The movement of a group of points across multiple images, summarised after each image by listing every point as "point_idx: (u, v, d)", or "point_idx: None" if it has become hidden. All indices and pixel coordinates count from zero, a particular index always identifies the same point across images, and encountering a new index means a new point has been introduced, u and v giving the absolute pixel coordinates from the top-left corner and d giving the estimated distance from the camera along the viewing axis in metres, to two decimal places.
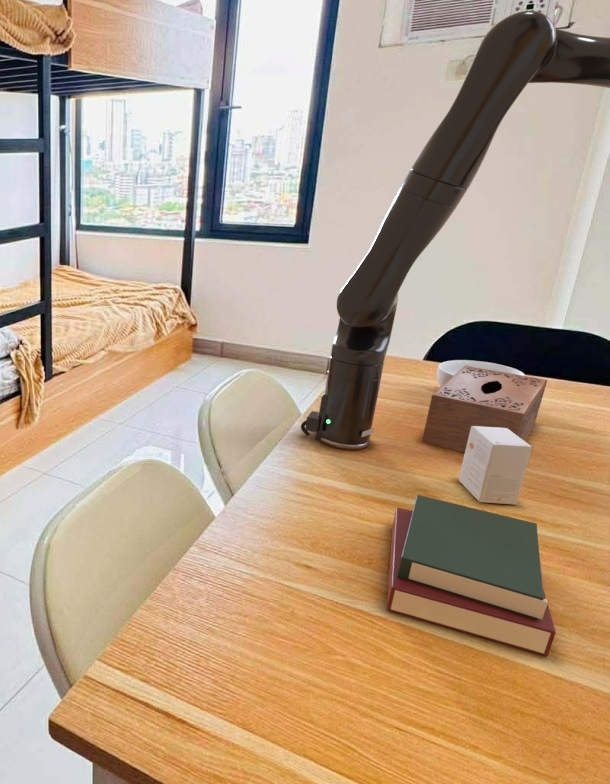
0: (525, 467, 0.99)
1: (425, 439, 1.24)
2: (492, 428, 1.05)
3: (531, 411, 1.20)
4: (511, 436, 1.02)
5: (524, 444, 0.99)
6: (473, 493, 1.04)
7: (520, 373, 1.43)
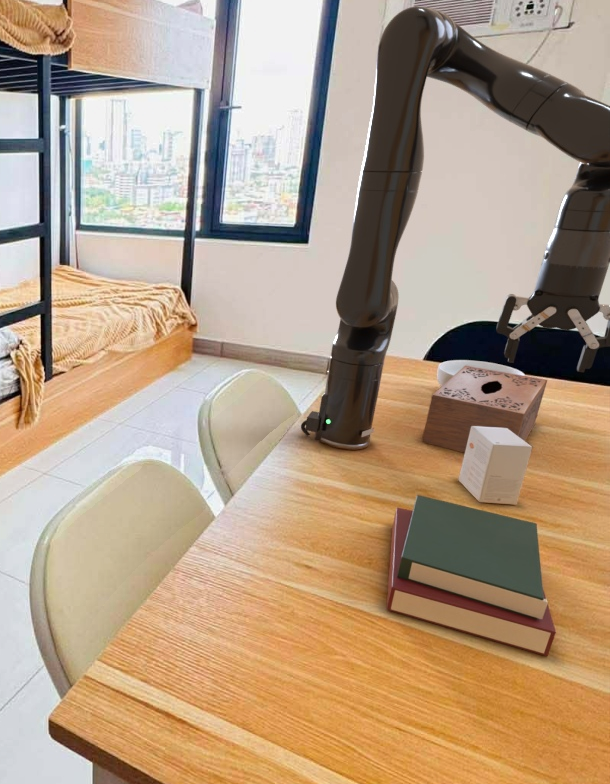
0: (525, 467, 0.99)
1: (425, 439, 1.24)
2: (492, 428, 1.05)
3: (531, 411, 1.20)
4: (511, 436, 1.02)
5: (524, 444, 0.99)
6: (473, 493, 1.04)
7: (520, 373, 1.43)
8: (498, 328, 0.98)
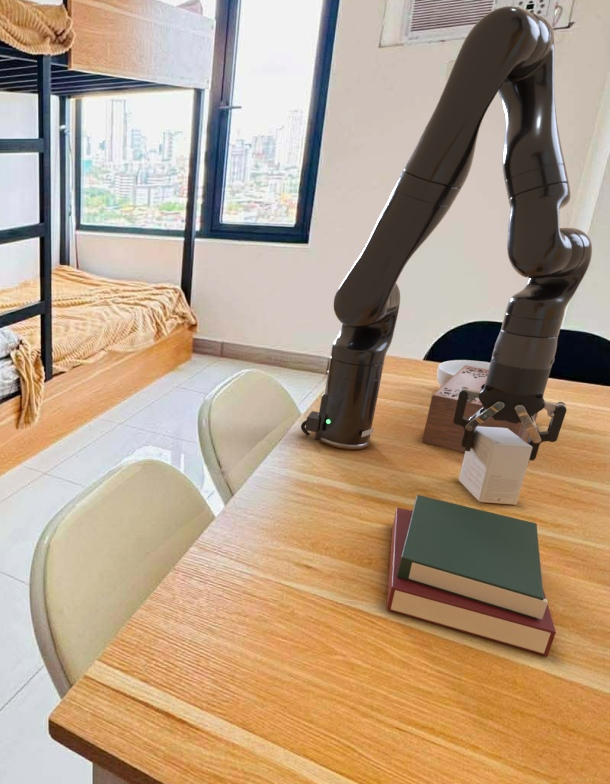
0: (525, 467, 0.99)
1: (425, 439, 1.24)
2: (492, 428, 1.05)
3: None
4: (511, 436, 1.02)
5: (524, 444, 0.99)
6: (473, 493, 1.04)
7: None
8: (455, 419, 1.04)
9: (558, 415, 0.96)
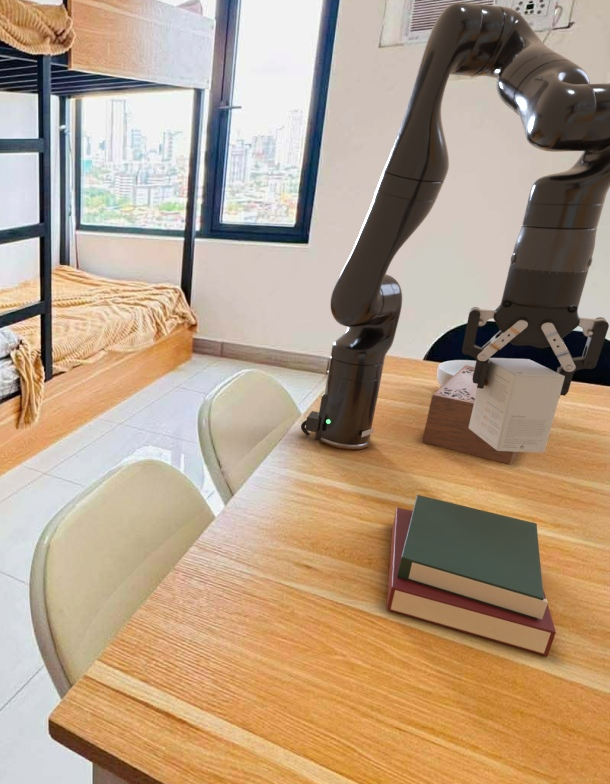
0: (555, 403, 0.78)
1: (425, 439, 1.24)
2: (511, 359, 0.83)
3: None
4: (536, 366, 0.80)
5: (554, 374, 0.77)
6: (488, 441, 0.83)
7: None
8: (464, 348, 0.83)
9: (598, 333, 0.74)
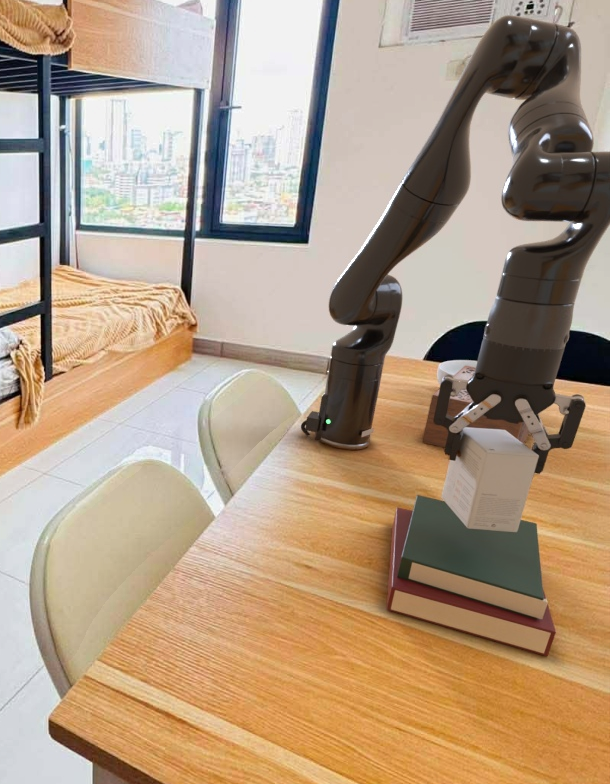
0: (529, 483, 0.74)
1: (425, 439, 1.24)
2: (485, 430, 0.79)
3: None
4: (510, 441, 0.76)
5: (528, 452, 0.73)
6: (460, 516, 0.79)
7: None
8: (435, 418, 0.79)
9: (574, 412, 0.70)
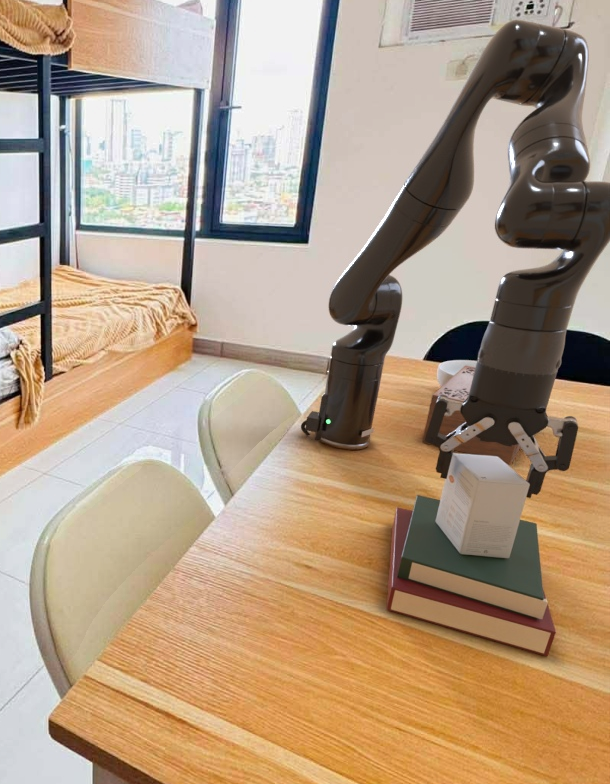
0: (520, 510, 0.75)
1: None
2: (478, 456, 0.80)
3: None
4: (502, 468, 0.77)
5: (519, 480, 0.74)
6: (453, 541, 0.80)
7: None
8: (427, 437, 0.80)
9: (567, 435, 0.71)
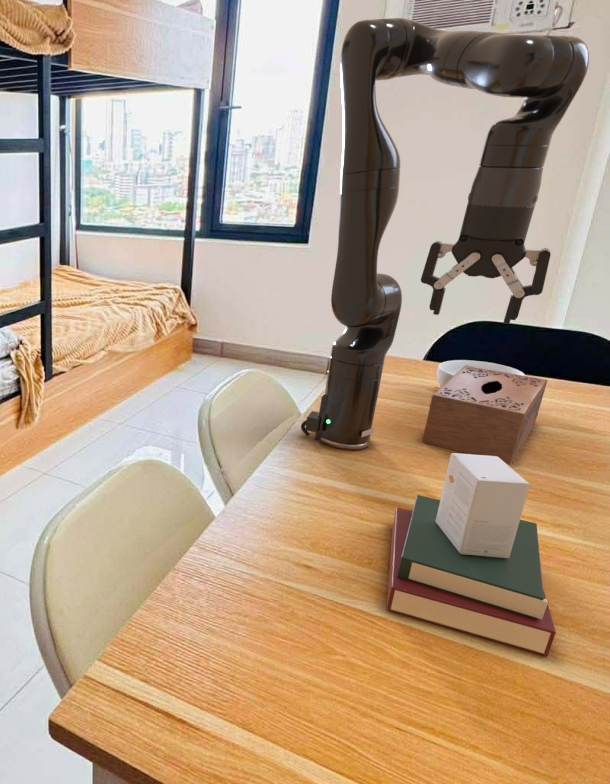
0: (520, 510, 0.75)
1: (425, 439, 1.24)
2: (478, 456, 0.80)
3: (531, 411, 1.20)
4: (502, 468, 0.77)
5: (519, 480, 0.74)
6: (453, 541, 0.80)
7: (520, 373, 1.43)
8: (422, 277, 0.92)
9: (541, 261, 0.84)
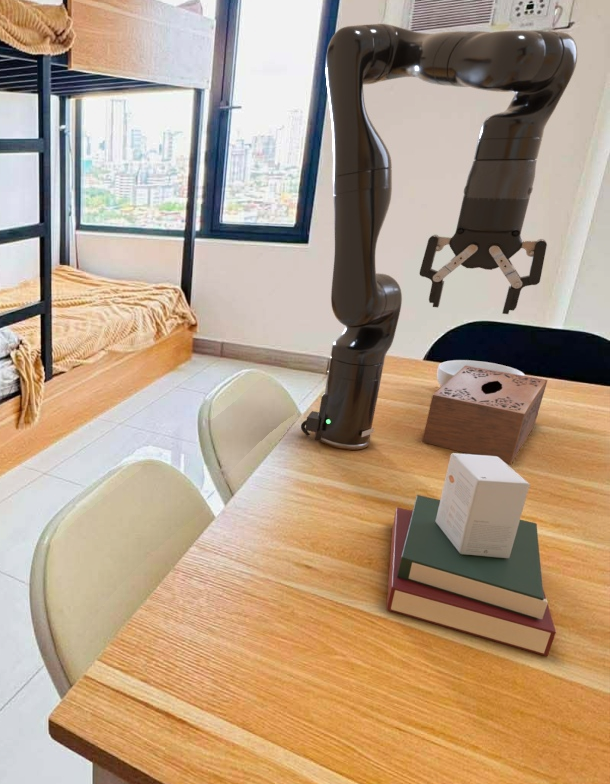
0: (520, 510, 0.75)
1: (425, 439, 1.24)
2: (478, 456, 0.80)
3: (531, 411, 1.20)
4: (502, 468, 0.77)
5: (519, 480, 0.74)
6: (453, 541, 0.80)
7: (520, 373, 1.43)
8: (421, 271, 0.93)
9: (538, 252, 0.85)
